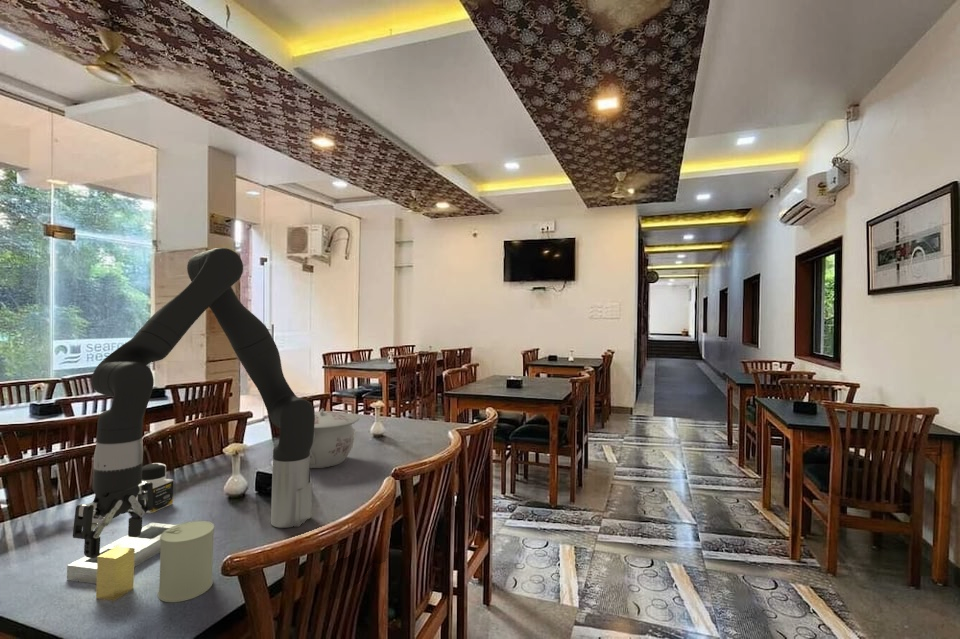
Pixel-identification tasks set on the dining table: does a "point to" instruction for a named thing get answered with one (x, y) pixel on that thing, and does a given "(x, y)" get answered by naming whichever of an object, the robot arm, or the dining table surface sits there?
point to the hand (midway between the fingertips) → (114, 546)
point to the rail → (143, 545)
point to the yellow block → (115, 573)
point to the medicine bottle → (158, 485)
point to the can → (186, 561)
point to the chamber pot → (332, 438)
